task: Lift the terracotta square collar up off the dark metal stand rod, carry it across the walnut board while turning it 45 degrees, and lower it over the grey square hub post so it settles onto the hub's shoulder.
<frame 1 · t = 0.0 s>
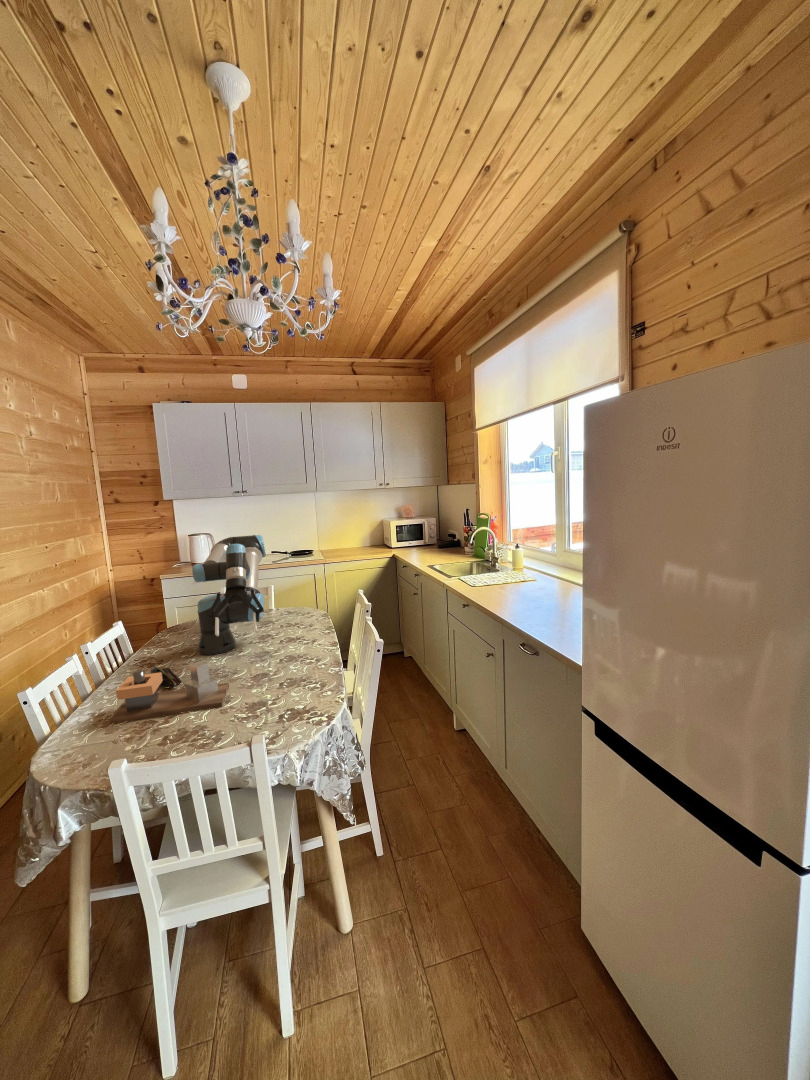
hand: (236, 632, 164), 15 cm above the table, tool tilted 35°, fingers open, 13 cm apart
collar: (141, 689, 141), point 6 cm above the table, touching stand
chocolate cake: (169, 684, 160), on the table
board: (174, 704, 144), on the table
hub: (203, 699, 146), resting on board
stand: (143, 708, 142), resting on board
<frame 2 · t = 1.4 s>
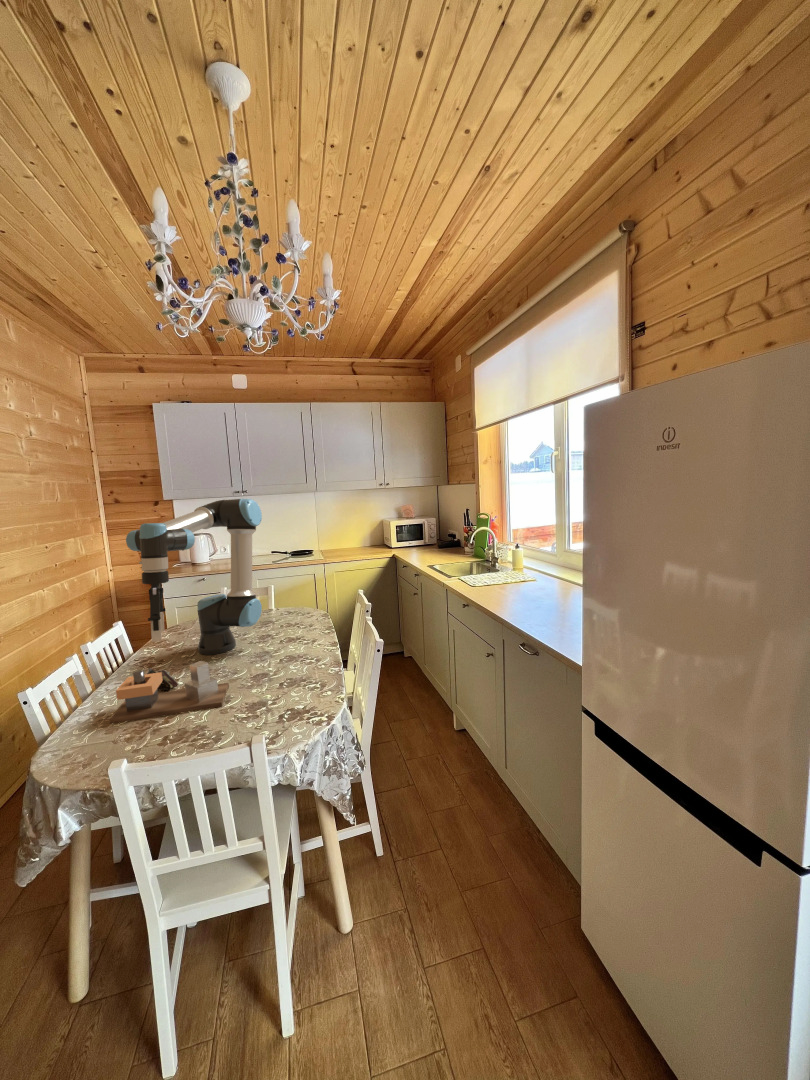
hand: (158, 636, 143), 23 cm above the table, tool pointing down, fingers open, 13 cm apart
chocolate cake: (165, 687, 158), on the table
everything else where it was.
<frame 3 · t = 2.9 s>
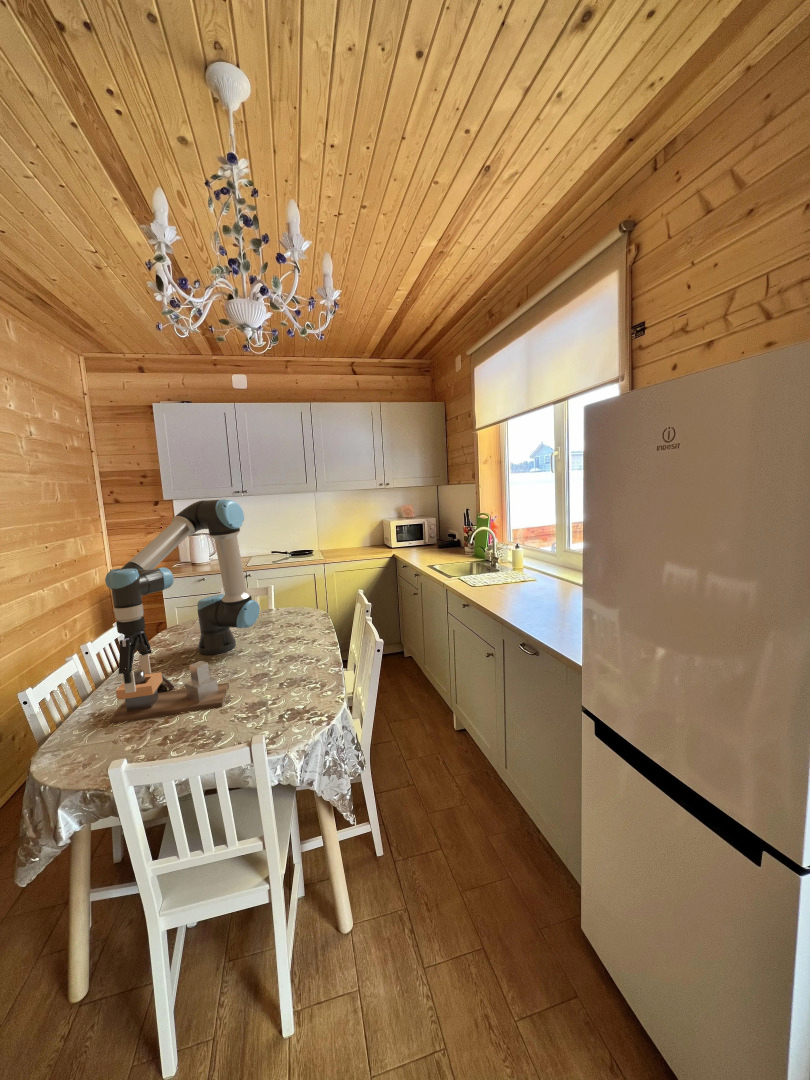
hand: (138, 682, 141), 9 cm above the table, tool pointing down, fingers open, 13 cm apart
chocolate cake: (161, 689, 156), on the table
everything else where it was.
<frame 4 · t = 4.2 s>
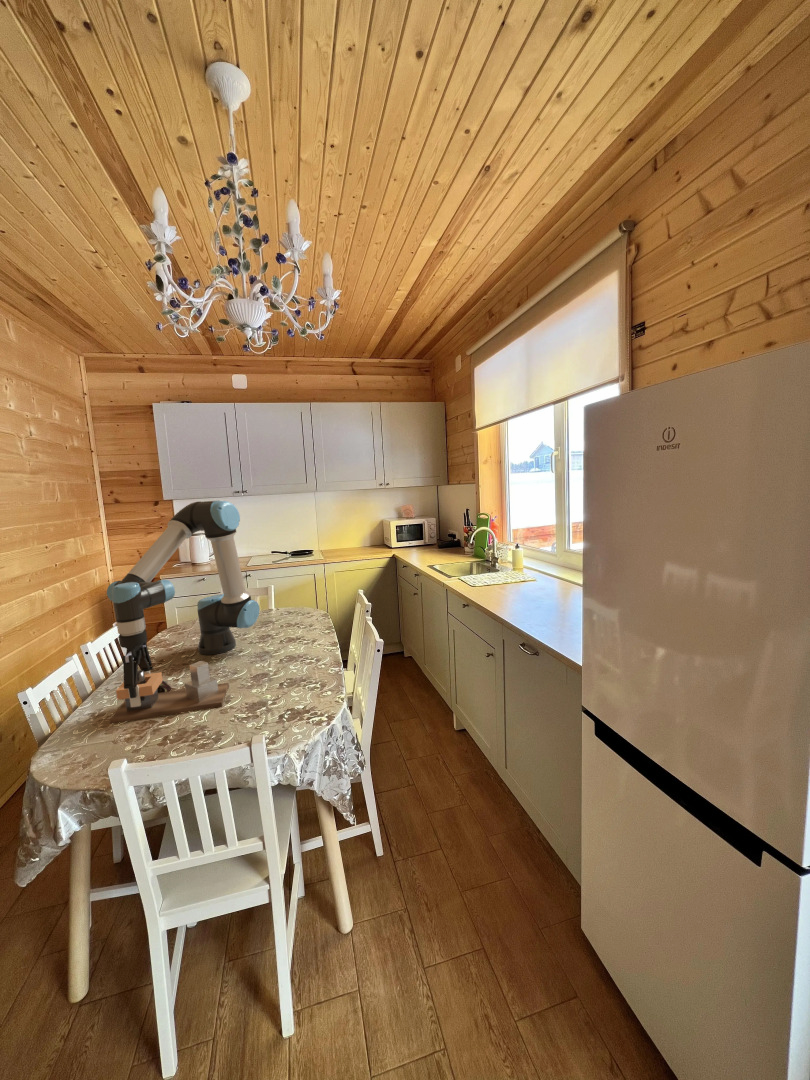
hand: (142, 697, 142), 4 cm above the table, tool pointing down, fingers closed on collar, 10 cm apart
collar: (141, 689, 141), point 7 cm above the table, touching gripper, stand
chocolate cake: (158, 691, 155), on the table
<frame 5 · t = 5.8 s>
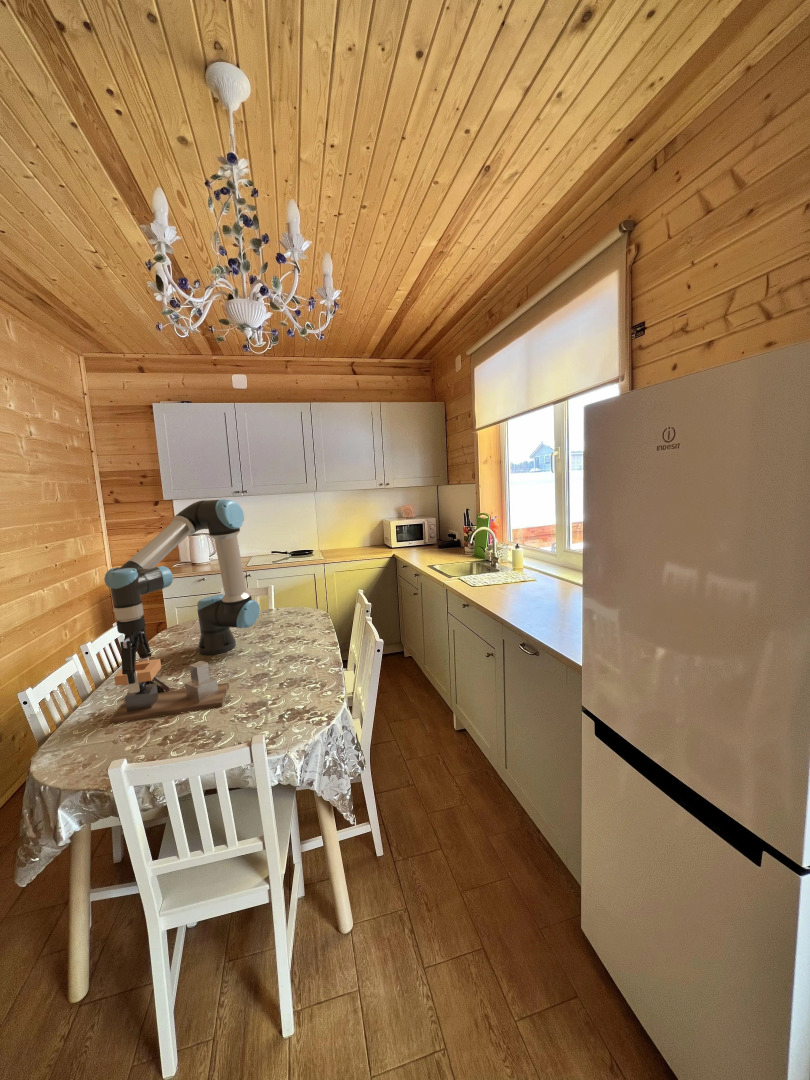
hand: (140, 684, 141), 8 cm above the table, tool pointing down, fingers closed on collar, 10 cm apart
collar: (139, 676, 141), point 11 cm above the table, touching gripper
when the fingers open (5 cm above the table, at t = 12.4 s): collar stays where it is, resting on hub.
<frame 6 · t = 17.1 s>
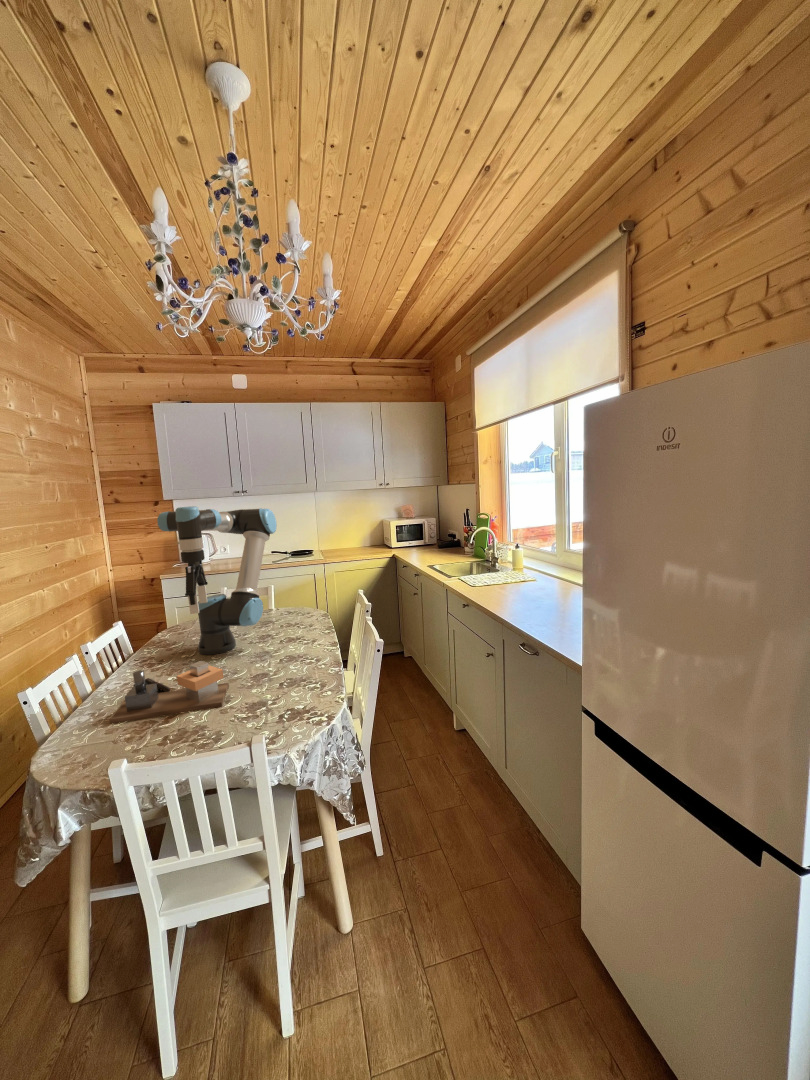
hand: (199, 607, 159), 27 cm above the table, tool pointing down, fingers open, 13 cm apart
collar: (200, 681, 145), point 6 cm above the table, touching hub
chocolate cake: (155, 693, 153), on the table
at the end: collar 0.0 cm off-centre on the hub, point 6.5 cm above the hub's base; collar tilted 0°; the gripper is holding nothing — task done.
